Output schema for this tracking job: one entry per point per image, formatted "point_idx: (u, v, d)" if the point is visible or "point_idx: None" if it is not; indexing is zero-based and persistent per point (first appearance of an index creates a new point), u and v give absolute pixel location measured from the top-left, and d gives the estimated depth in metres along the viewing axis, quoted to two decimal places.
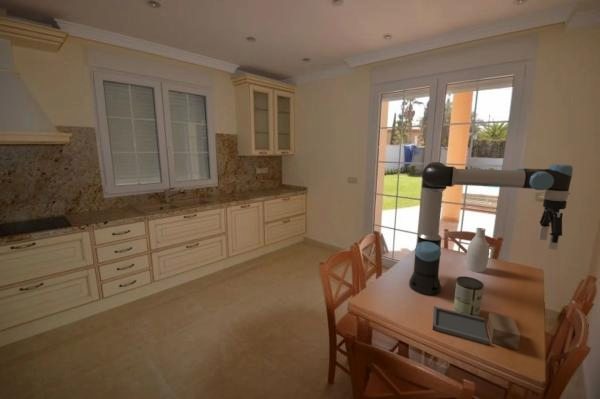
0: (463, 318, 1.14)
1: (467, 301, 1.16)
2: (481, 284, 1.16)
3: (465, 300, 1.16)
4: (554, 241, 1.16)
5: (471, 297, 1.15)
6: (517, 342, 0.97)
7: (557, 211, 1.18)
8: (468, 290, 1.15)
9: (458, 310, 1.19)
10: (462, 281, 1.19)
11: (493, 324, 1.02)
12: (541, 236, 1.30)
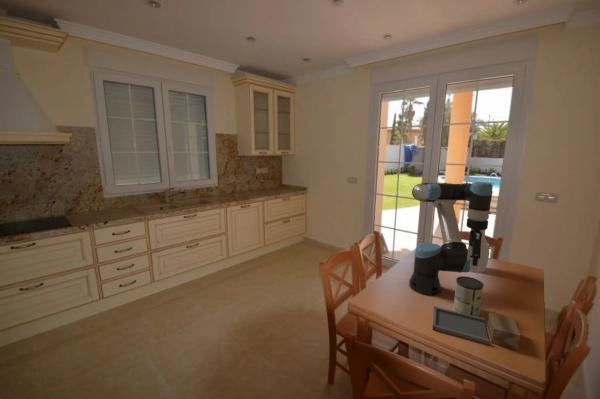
0: (463, 318, 1.14)
1: (467, 301, 1.16)
2: (481, 284, 1.16)
3: (465, 300, 1.16)
4: (474, 264, 1.09)
5: (471, 297, 1.15)
6: (517, 342, 0.97)
7: (478, 232, 1.10)
8: (468, 290, 1.15)
9: (458, 310, 1.19)
10: (462, 281, 1.19)
11: (493, 324, 1.02)
12: (469, 256, 1.22)
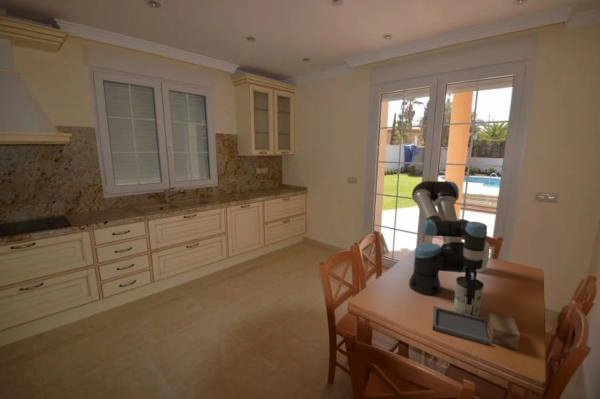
0: (463, 318, 1.14)
1: None
2: (481, 284, 1.16)
3: None
4: (468, 303, 1.14)
5: None
6: (517, 342, 0.97)
7: (473, 271, 1.14)
8: None
9: (458, 310, 1.19)
10: (462, 281, 1.19)
11: (493, 324, 1.02)
12: None
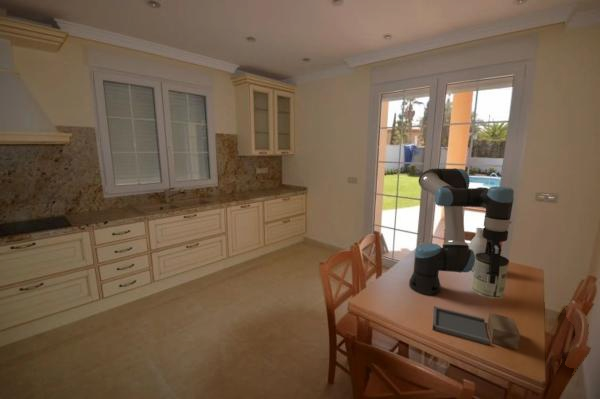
0: (463, 318, 1.14)
1: None
2: (506, 260, 0.99)
3: None
4: (491, 282, 0.97)
5: None
6: (517, 342, 0.97)
7: (497, 244, 0.96)
8: None
9: (478, 291, 1.02)
10: (483, 257, 1.01)
11: (493, 324, 1.02)
12: None
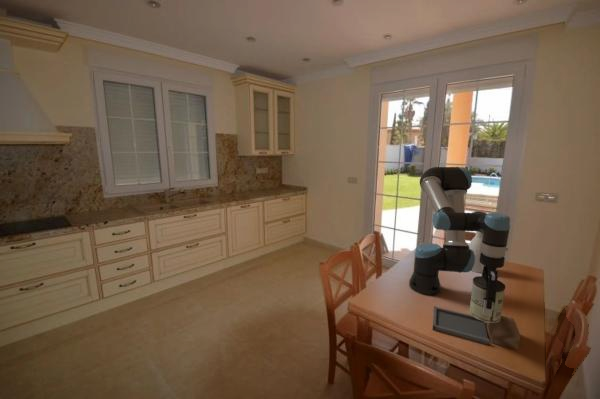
0: (463, 318, 1.14)
1: None
2: (502, 285, 1.01)
3: None
4: (488, 307, 0.98)
5: None
6: (517, 342, 0.97)
7: (493, 270, 0.98)
8: None
9: (475, 315, 1.04)
10: (480, 282, 1.03)
11: (493, 324, 1.02)
12: None
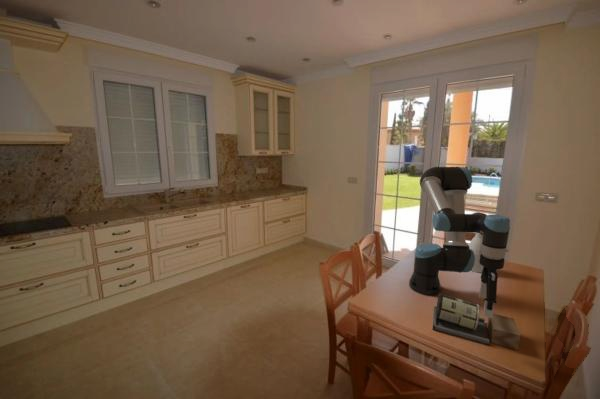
0: None
1: (457, 319, 1.06)
2: (439, 296, 1.12)
3: (456, 320, 1.07)
4: (489, 308, 0.97)
5: (450, 313, 1.07)
6: (517, 342, 0.97)
7: (493, 271, 0.98)
8: (442, 314, 1.08)
9: (472, 328, 1.05)
10: (436, 312, 1.13)
11: (493, 324, 1.02)
12: (481, 294, 1.10)
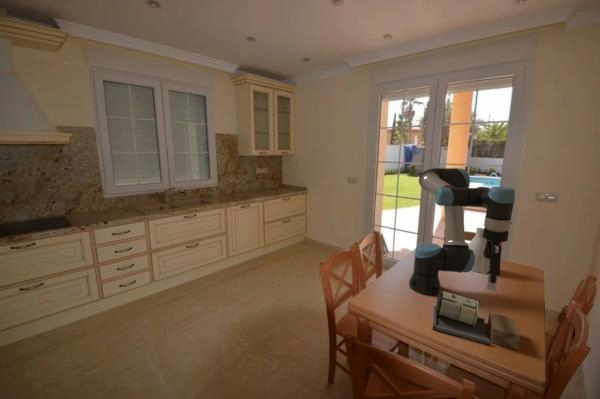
0: None
1: (458, 308, 1.08)
2: (439, 291, 1.17)
3: (457, 310, 1.08)
4: (492, 281, 0.95)
5: (451, 302, 1.10)
6: (517, 342, 0.97)
7: (497, 244, 0.96)
8: (443, 303, 1.11)
9: (473, 320, 1.06)
10: (437, 308, 1.14)
11: (493, 324, 1.02)
12: (484, 269, 1.09)
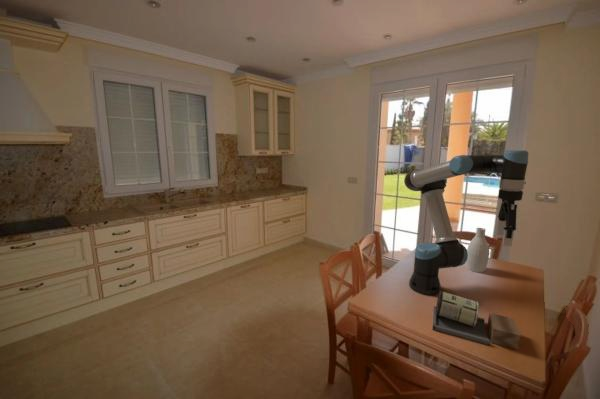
0: None
1: (458, 310, 1.08)
2: (439, 292, 1.16)
3: (456, 312, 1.08)
4: (508, 236, 1.03)
5: (451, 304, 1.09)
6: (517, 342, 0.97)
7: (512, 203, 1.04)
8: (443, 305, 1.10)
9: (473, 322, 1.06)
10: None
11: (493, 324, 1.02)
12: (499, 231, 1.16)
